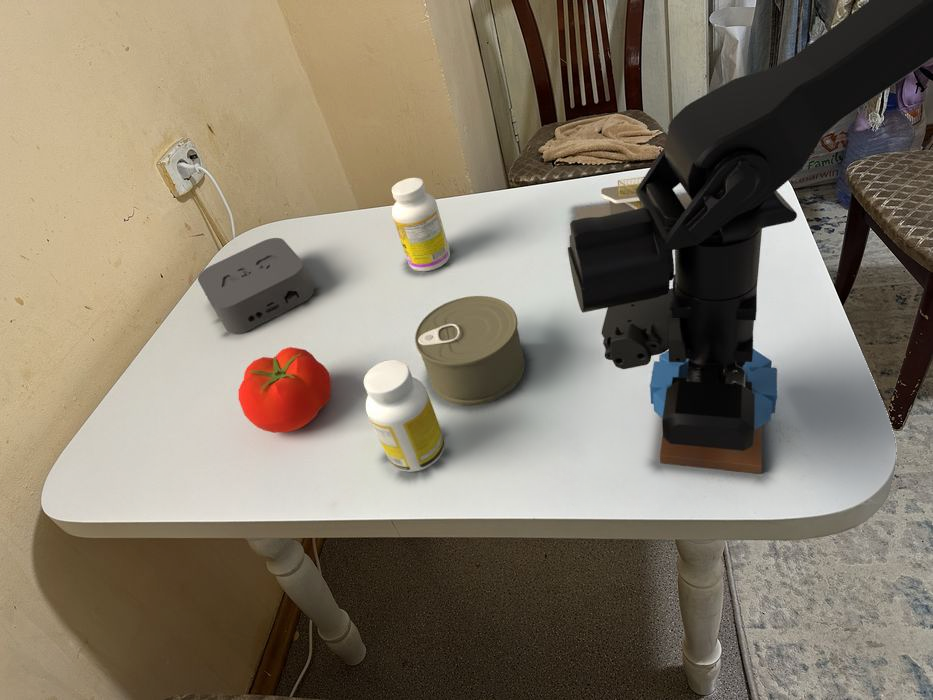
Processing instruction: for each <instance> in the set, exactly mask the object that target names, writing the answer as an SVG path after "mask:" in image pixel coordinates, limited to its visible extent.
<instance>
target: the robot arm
mask: <svg viewBox="0 0 933 700" xmlns="http://www.w3.org/2000/svg"><path fill="white" fill-rule="evenodd" d="M931 60H933V0H868V1H867V2H866V3H864V4H863V5H862V6H860V7H859V8H857V9H856V10H855V11H853V12H852V13H851V14H850V15H847V16H846V17H845V18H844V19H842V20H841V21H840V22H839V23H837V24H835V25H834V26H833V27H832V28H830V29H829V30H828V31H826V32H825V33H823V34H822V35H820V36H819V37H818V38H816V39H814V41H812V42H811V43H810V44H808V45H806V47H804V48H802V49H801V50H800V51H798V53H796V54H795V55H793V56H792V57H789V58H787V59H786V60H784V61H782V62H781V63H779V64H777V65H775V66H773V67H770V68H767V69H763V70H760V71H756V72H753V73H749V74H746V75H743V76H740V77H736V78H734V79H731V80H729V81H728V82H726V83H725V84H722V85H721V86H719V87H717V88H715V89H713V90H712V91H710V92H708V93H706V94H705V95H703V96H700V97H699V98H697V99H695V100H694V101H692V102H690V103H689V104H687V105H686V106H684V107H683V108H682V109H681V110H680V111H679V112H678V113H677V114H675V116H674V117H673V118H672V120H671V121H670V123H669V124H668V127H667V129H668V130H667V133H666V137H665V140H664V147H663V148H662V149H661V152H659V154H658V156H657V157H656V159H655V160H654V162H653V163H652V165H651V166H650V168H649V169H648V171H647V172H646V174H645V175H644V176H643V177H644V178H642V181H641V180H640V182H639V183H640V184H639V186H638V187H637V189H636V194H637V196H638V198H639V200H640V202H641V208H640V209H635V210H630V211H626V212H621V213H617V214H612V215H608V216H603V217H587V218H582V219H578V220H577V219H573V220H571V222H570V223H569V228H570V234H569V246H568V247H567V254H568V260H569V266H570V272H571V278H572V282H573V287H574V291H575V296H576V299H577V302H578V303H577V304H578V306H579V309H580V311H581V313H582V314H583V313H588V312H593V311H598V310H601V309H602V310H603V309H606V312H605V316H604V319H603V324H602V327H601V335H602V337H603V341H602V345H603V347H604V349H605V351H604V358H605V359H606V360H608V361H612V363H613V364H614V367H616V368H618V369H621V370H629V369H633V368H638V367H644V366H647V365H649V363H651V360H652V357H653V356H658V355H661V354H663V353H665V352H667V351H668V350H669V362H680V363H685V362H686V359H689V362H688V371H687V378H683V377H672V385H671V386H669V387H668V388H667V389H666V397H665V404H664V411H663V418H661V419H662V420H661V425H662V427H661V428H662V429H661V430H662V436H663V438H664V439H665V440H666V441H668V442H669V443H670V444H679V445H689V446H699V447H710V448H720V449H730V450H740V451H745V450H746V449H748V448H750V447H751V446H753V438H754V422H755V394H754V393H752V382H748V381H745V370H744V369H743V368H742V367H743V366H744V364H745V362H752V357H753V349H754V329H755V328H754V326H755V321H756V320H757V310H758V309H757V308H758V281H759V271H760V259H761V258H760V257H761V246H762V245H761V244H762V235H763V234H762V232H763V229H765V228H768V227H773V226H778V225H784V224H789V223H792V222H794V221H795V220H797V218H798V213H797V212H796V210H795V209H794V208H793V207H792V206H791V205H790V203H789V202H787V200H786V199H785V198H784V197H783V196H782V194H780V193H779V192H778V190H779V189H780V188H781V187H782V186H783V185H785V184H786V183H787V182H789V180H791V179H792V178H793V177H794V176H795V175H797V174H798V173H799V172H800V171H801V170H802V169H803V168H804V167H805V165H806V163H807V162H808V160H809V159H810V157H811V155H812V154H813V152H814V151H815V149H816V148H817V146H818V144H819V143H820V142H821V140H822V138H823V137H824V136H825V135H826V134H827V133H829V131H830V130H831V129H833V128H834V127H835V126H836V125H838V123H840V122H842V121H843V119H845V118H847V117H848V116H850V115H851V114H852V113H854V112H855V111H857V110H858V109H860V108H861V107H863V106H864V105H867V104H868V103H869V102H870V101H872V100H873V99H875V98H876V97H878V96H879V95H881V94H882V93H884V92H885V91H887V90H888V89H890V88H892V87H893V86H894V85H897V83H899V82H901V81H902V80H903V79H904V78H906V77H908V76H909V75H910V74H912V73H914V72H915V71H916V70H918V69H919V68H921V67H923V66H924V65H926V64H927V63H928V62H930V61H931ZM680 184H681V186H682V188H683V189H684V191H685V192H686V194H688V195H689V197H690V198H691V200H692V201H691V203H690V204H689V205H688V207H687V208H686V209H685V208H684V206H683V205H682V203H681V202H680V200H679V198H678V197H677V195H678V194H676V192H675V191H674V188H676V187H677V186H678V185H680ZM673 251H674V254H673ZM670 281H672V287H671V288H670V283H671V282H670Z"/></svg>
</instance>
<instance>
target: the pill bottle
mask: <svg viewBox="0 0 933 700" xmlns="http://www.w3.org/2000/svg"><path fill="white" fill-rule="evenodd" d="M363 385H364V389H365V391H366V393H367V397H366V401H365V411H366V414H367V417H368V419H369V420H370V423H371V425H372V427H373V429H374V431H375V433H376V436H377V437H378V440H379V443H380V444H381V447H382V448H383V450H384V452H385V454H386V457H387V459H388V461H389V462H390V464H391V465H392V466H393V467H394V468H396V469H397V470H400V471H403V472H408V473H410V472H411V473H412V472H413V473H415V472H419V471H422V470H425V469H427V468H429V467H431V466H432V465H434V464H435V463H436V462H437V461H438V460H439V459H440V457H441V456H442V455H443V452H444V450H445V443H446V442H445V437H444V433H443V431H442V428H441V426H440V422H439V420H438V418H437V415H436V412H435V408H434V407H433V403H432V401H431V398H430V396H429V393H428V390H427V388H426V386H425V385H424V383H423V382H422V381H421V380H419V379H418V378H416V377H413V375H412V373H411V371H410V368H409V366H408V365H407V364H406V362H403V361H401V360H398V359H391V360H390V359H389V360H384V361H382V362H379V363H377V364H375V365H374V366H372V367H371V368H370V369H369V370H368V371H367V372H366V374H365V375H364V378H363Z"/></svg>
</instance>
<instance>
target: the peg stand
mask: <svg viewBox="0 0 933 700" xmlns="http://www.w3.org/2000/svg"><path fill="white" fill-rule="evenodd" d="M762 439H763V425H762V426H760V427H758V428H757V429H755V430H754V438H753V446H751V447H750V448H748V449H746V450H745V451H740V450H730V449H720V448H710V447H699V446H689V445H679V444H670V443H669V442H668V441H666V440H665V439H664V438H663V435H662V436H661V442H660V451H659V463H660V464H665V465H676V466H685V467H693V468H701V469H702V468H703V469H710V470H711V469H712V470H721V471H731V472H738V473H749V474H756V475H757V474H758V475H761V473H762V466H763V465H762V464H763V463H762V462H763V461H762V460H763V458H762V457H763V454H762V453H763V440H762Z"/></svg>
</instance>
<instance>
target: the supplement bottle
mask: <svg viewBox="0 0 933 700" xmlns="http://www.w3.org/2000/svg"><path fill="white" fill-rule="evenodd" d="M391 193H392V194H391V195H392V197H393V199H394V201H395V202H394V204H393V206H392V209H391V216H392V219H393V222H394V225H395V227H396V228H395V229H396V231H397V234H398V237H399V240H400V242H401V246H402V249H403V251H404V255H405V258H406V261H407V263H408V266H409V267H410V268H411V269H413V270H414V271H418V272H430V271H434V270H436V269H439V268H440V267H442V266H444V265H445V264H446V263H447V262H448V260H449V259H450V256H451V250H450V247H449V243H448V240H447V236H446V232H445V229H444V225H443V222H442V218H441V213H440V211H439V206H438V204H437V200H436V199H435V197H434V196H433V195H432V194H430V193H427V192H426V185H425V182H424V181H423V179H422V178H419V177H409V178H405V179H401V180H400V181H398V182H397V183H395V184H393V186H392V187H391Z"/></svg>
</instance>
